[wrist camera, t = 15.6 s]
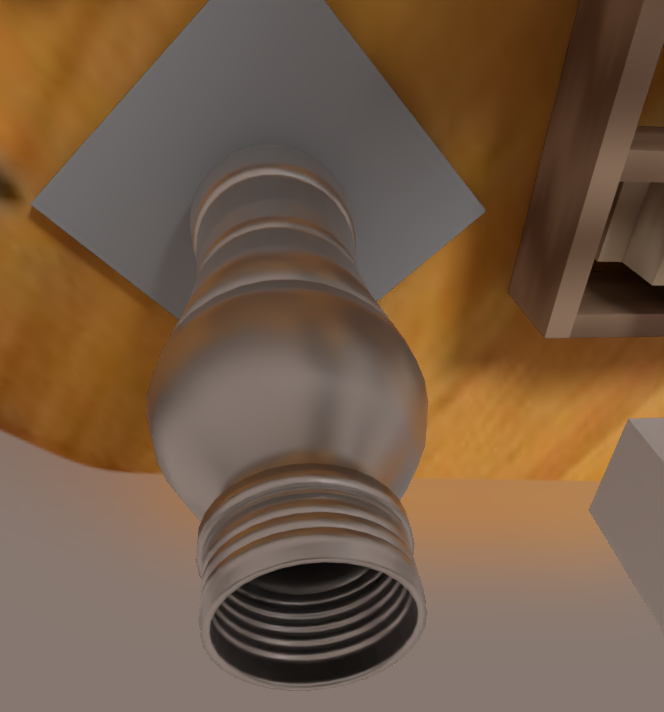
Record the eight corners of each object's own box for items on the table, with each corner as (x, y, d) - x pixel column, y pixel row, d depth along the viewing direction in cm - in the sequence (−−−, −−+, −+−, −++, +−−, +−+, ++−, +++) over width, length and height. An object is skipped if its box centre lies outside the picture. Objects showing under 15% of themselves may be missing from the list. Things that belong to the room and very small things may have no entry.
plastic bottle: (288, 302, 29) (347, 762, 12) (164, 220, 26) (16, 677, 9) (377, 197, 26) (600, 587, 10) (251, 94, 24) (265, 400, 7)
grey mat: (35, 197, 25) (29, 204, 25) (269, -69, 21) (270, -70, 21) (268, 381, 32) (269, 390, 32) (480, 204, 28) (486, 210, 28)
